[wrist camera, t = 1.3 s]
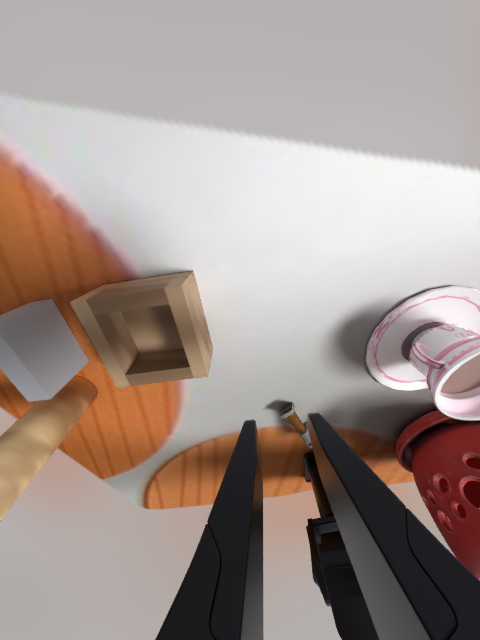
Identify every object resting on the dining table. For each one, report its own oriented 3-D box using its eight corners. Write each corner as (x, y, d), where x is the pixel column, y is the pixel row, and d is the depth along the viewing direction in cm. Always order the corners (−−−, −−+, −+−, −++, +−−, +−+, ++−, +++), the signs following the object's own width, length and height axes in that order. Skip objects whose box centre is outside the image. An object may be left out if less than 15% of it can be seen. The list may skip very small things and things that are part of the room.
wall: (89, 361, 22) (50, 399, 17) (71, 363, 22) (28, 401, 17) (51, 298, 19) (-7, 325, 14) (31, 301, 19) (-34, 329, 14)
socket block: (213, 348, 21) (207, 376, 18) (137, 358, 22) (117, 387, 18) (193, 270, 18) (181, 285, 14) (102, 284, 18) (69, 302, 15)
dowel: (103, 399, 24) (-20, 569, 13) (71, 403, 25) (-79, 573, 13) (87, 373, 23) (-74, 542, 11) (52, 377, 23) (-141, 547, 11)
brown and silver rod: (321, 447, 27) (325, 477, 23) (282, 398, 28) (278, 418, 23) (333, 441, 27) (339, 471, 22) (293, 391, 27) (291, 411, 23)
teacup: (523, 304, 19) (637, 340, 14) (435, 395, 25) (492, 448, 19) (411, 268, 18) (489, 292, 12) (342, 374, 23) (375, 424, 17)
